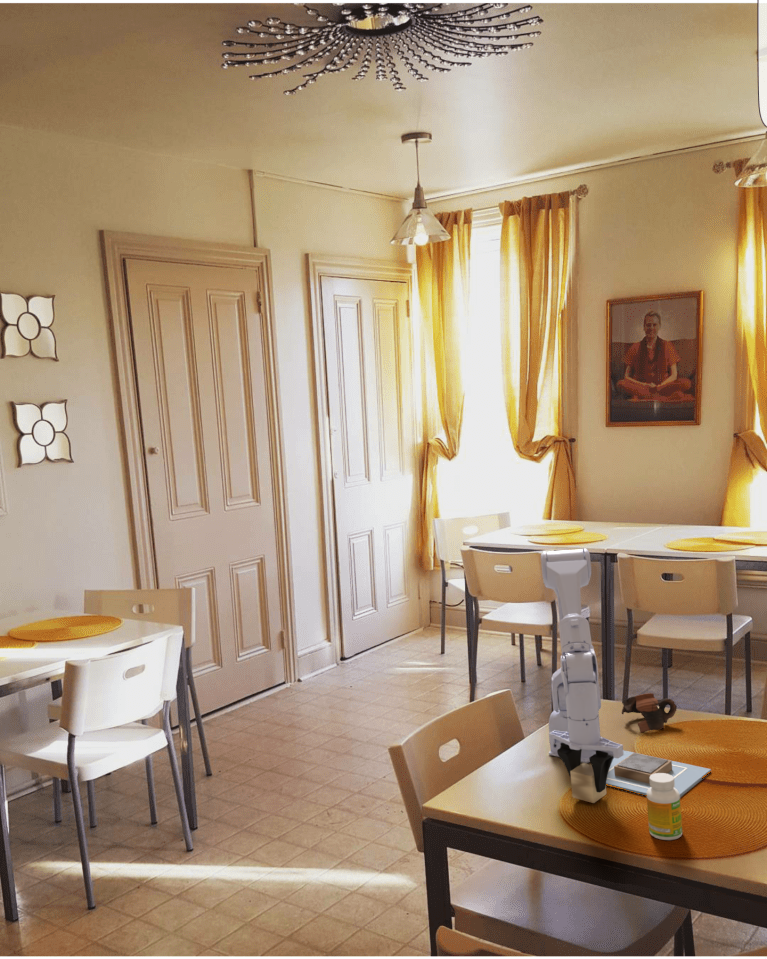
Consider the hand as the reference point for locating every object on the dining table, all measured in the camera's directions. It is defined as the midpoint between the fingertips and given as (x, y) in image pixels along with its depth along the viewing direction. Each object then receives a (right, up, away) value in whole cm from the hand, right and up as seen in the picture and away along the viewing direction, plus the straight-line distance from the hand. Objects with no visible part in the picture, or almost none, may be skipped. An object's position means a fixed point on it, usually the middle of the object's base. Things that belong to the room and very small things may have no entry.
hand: (588, 787), depth 161 cm
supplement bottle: (+10, -3, -15) cm, 18 cm away
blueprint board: (+13, -1, +9) cm, 16 cm away
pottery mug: (+22, +1, +35) cm, 42 cm away
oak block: (0, -2, 0) cm, 2 cm away
